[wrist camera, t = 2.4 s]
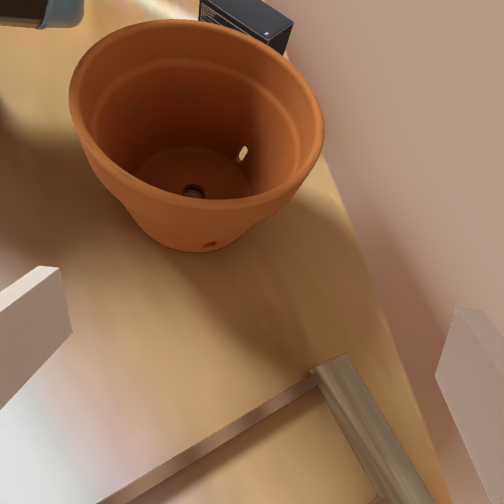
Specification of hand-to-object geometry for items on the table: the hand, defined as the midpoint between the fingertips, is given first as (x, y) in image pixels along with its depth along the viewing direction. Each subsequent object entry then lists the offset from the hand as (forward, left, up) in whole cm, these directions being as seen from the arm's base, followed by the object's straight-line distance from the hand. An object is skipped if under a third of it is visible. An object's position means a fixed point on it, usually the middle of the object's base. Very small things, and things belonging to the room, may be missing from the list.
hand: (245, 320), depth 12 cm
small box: (+2, +43, -25) cm, 50 cm away
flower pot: (-2, +21, -25) cm, 33 cm away
